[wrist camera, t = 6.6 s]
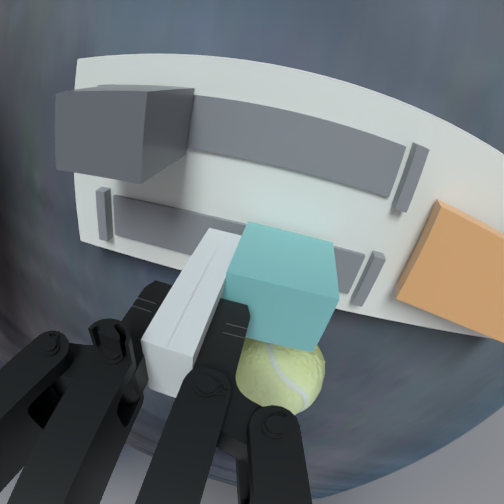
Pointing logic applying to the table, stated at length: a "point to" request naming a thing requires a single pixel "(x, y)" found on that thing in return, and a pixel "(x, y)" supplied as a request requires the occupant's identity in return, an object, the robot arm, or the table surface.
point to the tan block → (457, 271)
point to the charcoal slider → (122, 130)
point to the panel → (293, 173)
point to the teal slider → (283, 285)
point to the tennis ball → (280, 375)
